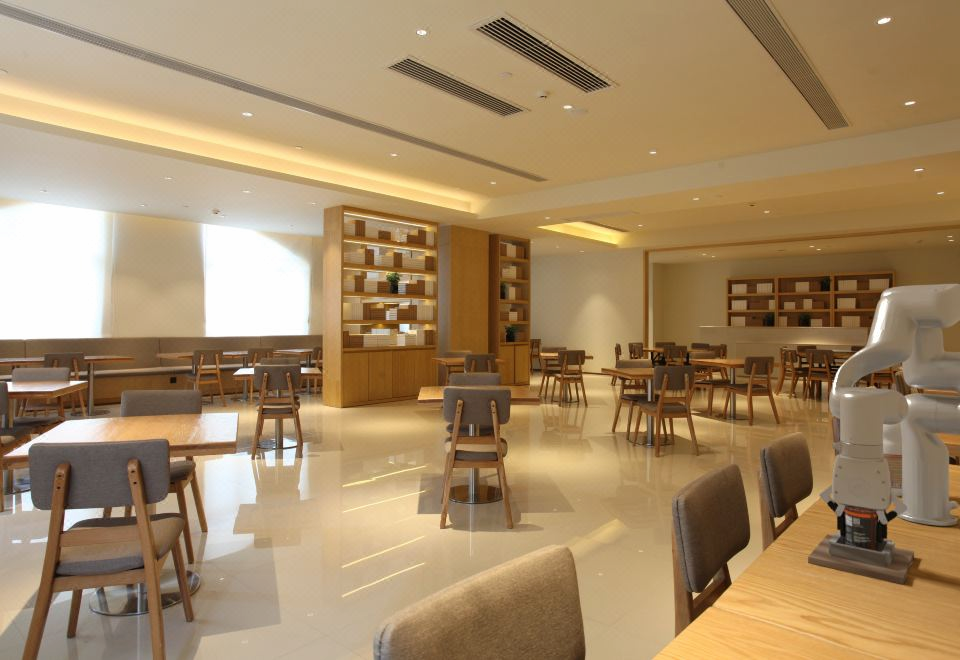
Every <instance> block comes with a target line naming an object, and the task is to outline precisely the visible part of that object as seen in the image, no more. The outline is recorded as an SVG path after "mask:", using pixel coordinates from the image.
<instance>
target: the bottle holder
mask: <svg viewBox="0 0 960 660" xmlns="http://www.w3.org/2000/svg"><path fill="white" fill-rule="evenodd" d="M895 543H896V542H893V541H892V540H891V539H884V540H883V542H882V543H879V551H874V550H869V549H864V548H859V547H854V546H849V545H845V535H844V536H841V535H840V531H836V532H835V533H834V535H833V534H828V533H827V534H826V535H825V536H824V537H823V539H822V540H821V541H820V542H819V544H818V545H817V546H816V547H815V548H814V549H813V550H812V551H811V553H810V554H809V555H808V556H807V563H808V564H811V565H816V566H822V567H825V568H829V569H833V570H837V571H843V572H847V573H851V574H856V575H859V576H865V577H869V578H874V579H876V580H882V581H886V582H890V583H896V584H899V585H904V584H905V583H906V582H905V581H906V579H907V576H908V574H909V571H910V568H911V566H912V563H913V561H914V558H915V551H913V550H909V549H903V548H899V547H896V545H895Z"/></svg>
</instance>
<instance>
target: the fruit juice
mask: <svg viewBox="0 0 960 660" xmlns="http://www.w3.org/2000/svg"><path fill="white" fill-rule="evenodd" d="M883 459H886V460H887V463H888V467H889V472H890V480H891V491H892V492H893V493H894V494H895V495H896V496H897V497H902V434H901V427H900V423H897V424H894V425H886V424H883Z"/></svg>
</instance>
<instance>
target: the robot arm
mask: <svg viewBox="0 0 960 660" xmlns="http://www.w3.org/2000/svg"><path fill="white" fill-rule="evenodd" d="M958 322H960V284H959V283H942V284H941V283H939V284H919V285H917V284H915V285H903V286H900V285H899V286H895V287H894V286H893V287H890V288H886V289H885V290H883V291H882V293H881V295H880V299H879V300H878V302H877V305H876V308H875V311H874V315H873V319H872V323H871V327H870V330H869V331H870V332H869V335H868V339H867V344H866V345H865V346H864V347H862V348H861V349H860V350H858V351H857V352H855V353H854V354H853V355H851V356H850V357H849V358H848V359H847V360H845V361H844V362H843V364H841V365H840V367H839V368H838V370H837V371H836V373H835V375H834V379H833V382H832V385H831V389H830V392H829V398H828V399H829V400H828V405H829V406H828V407H829V410H830V413H831V414H832V415H833V416H834V417H835V418H836V419H838V420H840V421H839V422H840V423H839V425H840V426H839V428H840V429H839V435H840V439H839V441H837V442H832V449H833V450H836V451H838V452H839V454H836V455H835V459H834V463H833V468H832V469H833V470H832V483H831V484H830V486H828V487H827V488H825V489H824V490H823V491H822V492H820V494H819V498H820V499H821V500H822V501H823V502H825V503H826V504H827V506H828V507H829V508H830V509H831V510H832V511H833V512H834V513H835V516H836V523H837V524H836V529H837V531H839V532H840V535H841V536H844V535H845V507H846V505H847V506H853V507H859V508H865V509H871V510H876V512H877V515H878V524H877V542H879V543H882V542H883V540H884V539H886V540H888V523H889V522H891V521H892V520H894V519H895V518H897V517H898V518H901V519H903V520H905V521H909V522H913V523H915V524H916V523H917V524H922V525H929V526H938V527H939V526H940V527H949V526H955V525H957V524H958V518H957V517H956V516H955V515H953V514H952V513H951V510H955V509H956V510H957V509H958V508H959V505H960V504H959V503H958V501H955V500H950V453H949V448H948V447H947V445H946V444H945V442H944V440H943V439H942V438H941V437H940V436H939V435H938V434H946V435H955V436H960V351H947V350H945V349H944V348H945V347H944V333H943V330H942V329H946V328H947V329H948V328H951V327H952V326H954V325H955V324H957V323H958ZM900 364H902V375H903V380H904V382H905V384H906V385H907V386H909V387H911V388H913V389H921V390H933V391H934V390H935V391H947V392H948V391H951V392H956V393H957V394H958V395H947V394H946V395H945V394H935V393H934V394H933V393H924V392H923V393H922V392H920V393H917V392H916V393H910V394H906V395H903V393H902V392H899V391H897V390H895V389H894V390H893V389H887V388H875V387H863V386H855V385H856V383H857V382H858V381H859V380H860V379H861V378H863V377H865V376H867V375H870V374H872V373H875V372H878V371H882V370H885V369H888V368H891V367H894V366H897V365H900ZM897 423H900V427H901V434H902V496H901V497H902V499H900V498H899V496H896V495H895V494H894V493H893V492H892V491H891V480H890V472H889V467H888V463H887V460H886V459H883V424H886V425H894V424H897ZM830 495H831V496H830ZM892 504H893V505H894V507H895V508H893V509H891V510H890V511H889V512H887V510H888V509H889V508H890V506H891V505H892Z"/></svg>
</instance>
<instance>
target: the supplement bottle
mask: <svg viewBox="0 0 960 660" xmlns="http://www.w3.org/2000/svg"><path fill="white" fill-rule="evenodd" d="M878 522H879V517H878V515H877V512H876V510H871V509H865V508H859V507H853V506H847V505H846V507H845V545H849V546H854V547H859V548H864V549H869V550H874V551H879V542H877V524H878Z"/></svg>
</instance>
